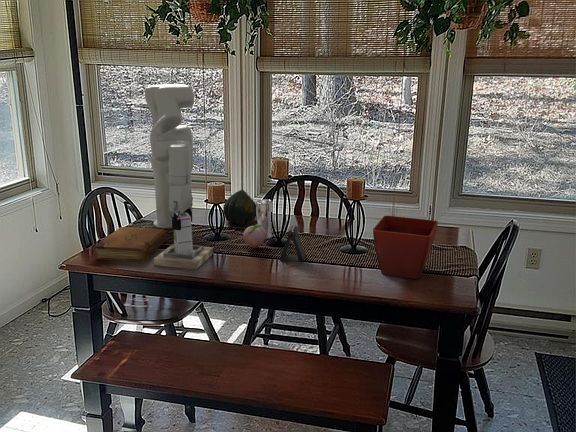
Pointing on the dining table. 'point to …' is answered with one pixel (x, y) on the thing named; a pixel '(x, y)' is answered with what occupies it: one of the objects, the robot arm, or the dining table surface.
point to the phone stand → (298, 246)
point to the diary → (130, 244)
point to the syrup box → (184, 236)
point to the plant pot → (403, 245)
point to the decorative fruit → (254, 235)
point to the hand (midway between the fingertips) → (182, 225)
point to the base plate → (183, 257)
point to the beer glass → (264, 215)
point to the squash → (240, 208)
